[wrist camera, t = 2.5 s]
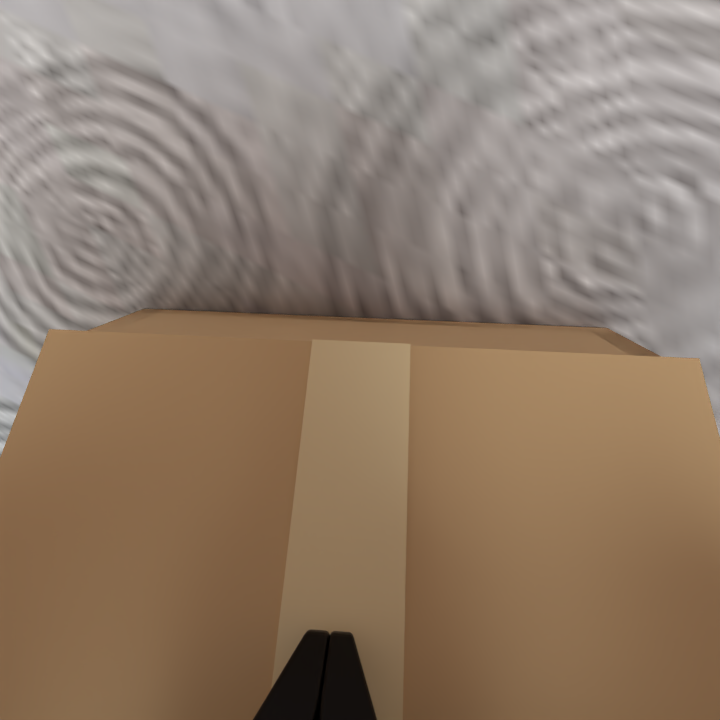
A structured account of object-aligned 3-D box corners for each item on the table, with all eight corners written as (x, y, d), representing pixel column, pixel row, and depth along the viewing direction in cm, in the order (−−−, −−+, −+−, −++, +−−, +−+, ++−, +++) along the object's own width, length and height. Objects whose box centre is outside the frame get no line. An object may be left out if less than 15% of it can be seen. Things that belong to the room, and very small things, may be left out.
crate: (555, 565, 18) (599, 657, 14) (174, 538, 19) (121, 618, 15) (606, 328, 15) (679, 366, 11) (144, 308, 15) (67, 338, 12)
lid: (821, 946, 7) (867, 988, 6) (-117, 840, 8) (-162, 868, 7) (682, 368, 11) (702, 357, 10) (64, 339, 12) (46, 327, 11)
